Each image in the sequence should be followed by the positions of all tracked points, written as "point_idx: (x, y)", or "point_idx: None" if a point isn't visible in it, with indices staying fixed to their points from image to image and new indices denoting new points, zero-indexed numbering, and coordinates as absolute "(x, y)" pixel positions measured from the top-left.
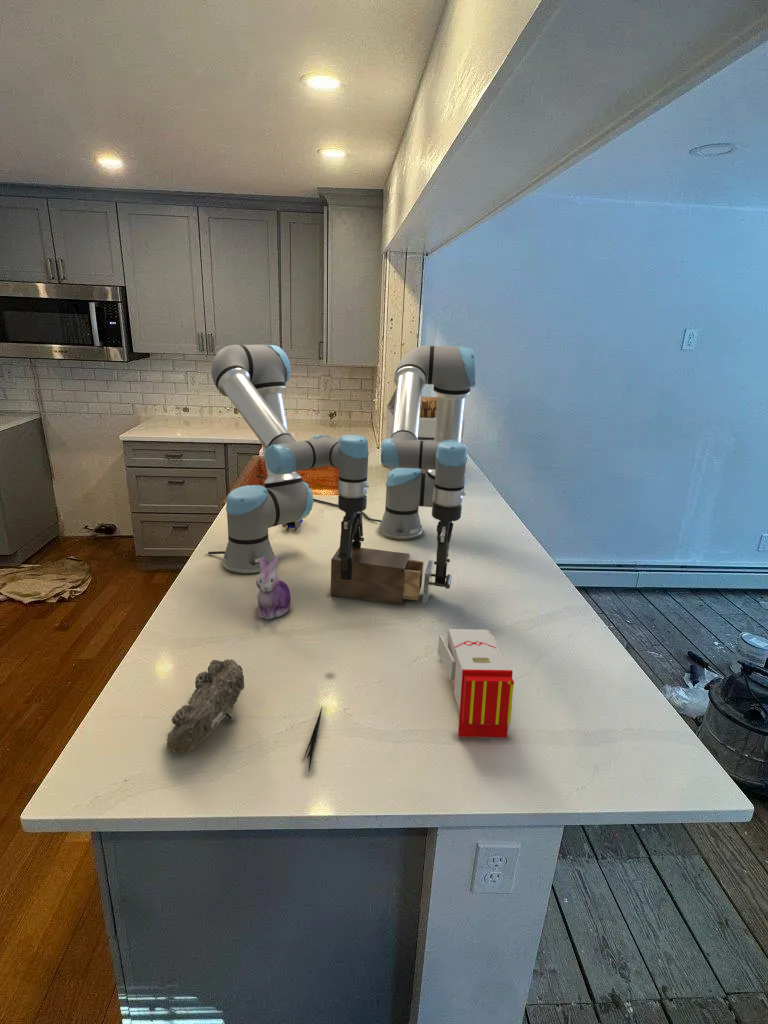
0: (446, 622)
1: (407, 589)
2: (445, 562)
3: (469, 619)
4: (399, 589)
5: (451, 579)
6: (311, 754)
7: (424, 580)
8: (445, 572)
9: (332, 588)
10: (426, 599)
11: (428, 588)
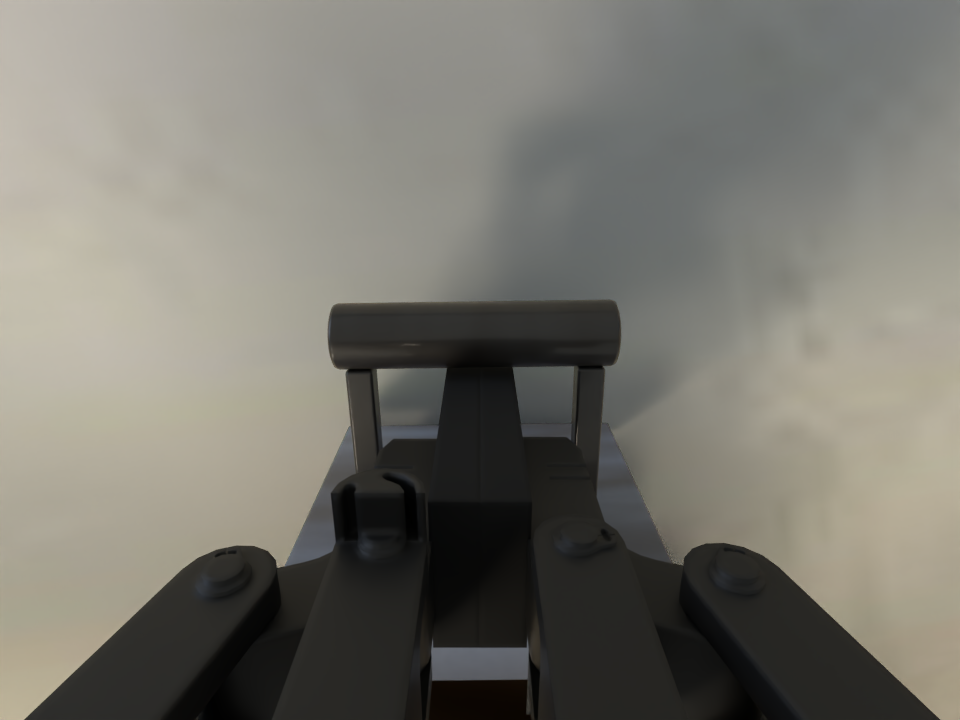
0: (815, 237)
1: None
2: (841, 630)
3: (744, 33)
4: None
5: (410, 303)
6: None
7: None
8: (519, 435)
9: None
10: (618, 448)
11: (602, 494)
